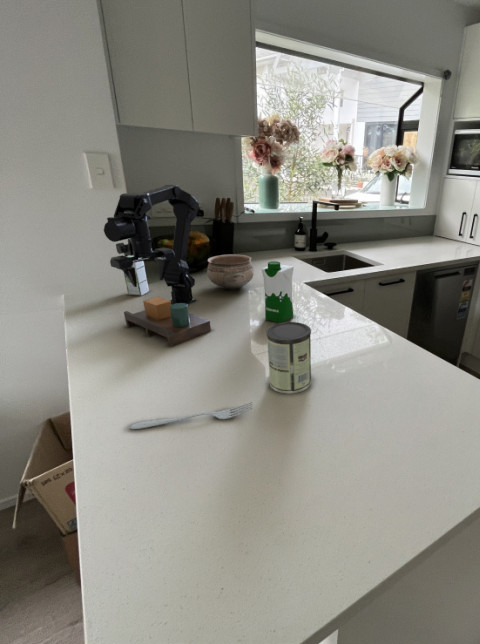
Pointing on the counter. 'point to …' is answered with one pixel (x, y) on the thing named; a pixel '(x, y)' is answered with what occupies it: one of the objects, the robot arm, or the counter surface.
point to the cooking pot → (230, 271)
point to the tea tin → (180, 315)
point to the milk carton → (278, 292)
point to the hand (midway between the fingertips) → (148, 283)
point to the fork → (221, 415)
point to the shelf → (169, 326)
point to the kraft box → (157, 308)
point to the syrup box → (140, 278)
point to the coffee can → (289, 357)
